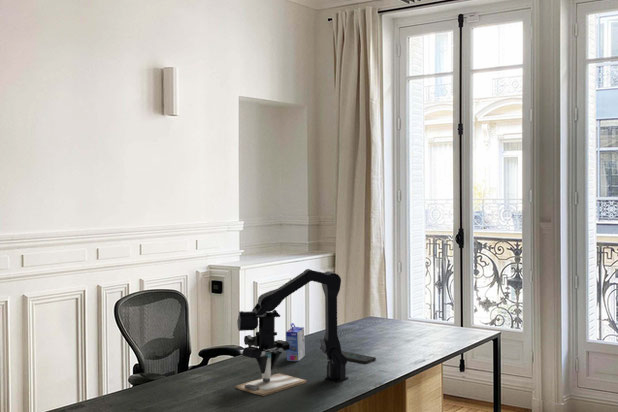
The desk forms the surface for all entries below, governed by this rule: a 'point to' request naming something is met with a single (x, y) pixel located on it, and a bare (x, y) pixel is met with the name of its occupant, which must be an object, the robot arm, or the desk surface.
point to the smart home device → (358, 357)
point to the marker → (267, 368)
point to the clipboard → (271, 384)
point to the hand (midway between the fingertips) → (266, 372)
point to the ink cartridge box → (295, 343)
